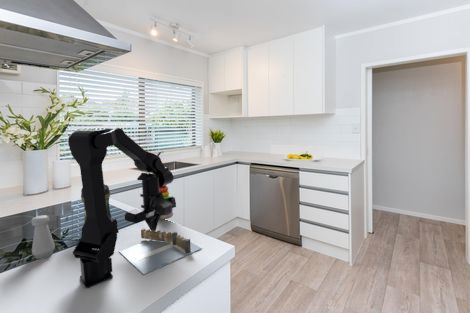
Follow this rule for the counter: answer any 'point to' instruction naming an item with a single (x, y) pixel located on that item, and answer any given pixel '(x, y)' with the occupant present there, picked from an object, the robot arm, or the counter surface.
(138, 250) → the card
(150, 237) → the folding fence panel
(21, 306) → the counter surface
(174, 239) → the fixed fence section
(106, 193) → the coffee jar
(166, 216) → the stacking toy
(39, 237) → the salt shaker
